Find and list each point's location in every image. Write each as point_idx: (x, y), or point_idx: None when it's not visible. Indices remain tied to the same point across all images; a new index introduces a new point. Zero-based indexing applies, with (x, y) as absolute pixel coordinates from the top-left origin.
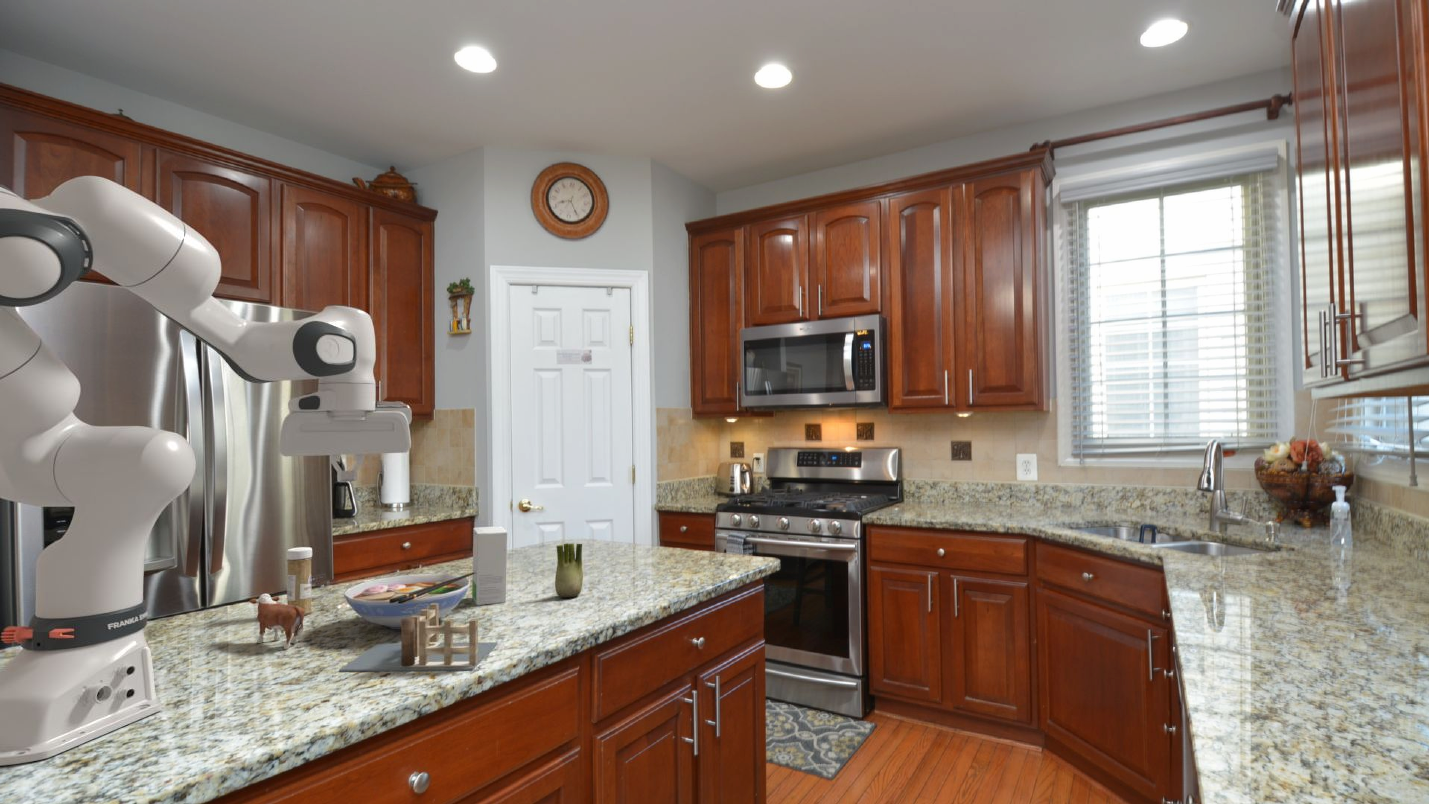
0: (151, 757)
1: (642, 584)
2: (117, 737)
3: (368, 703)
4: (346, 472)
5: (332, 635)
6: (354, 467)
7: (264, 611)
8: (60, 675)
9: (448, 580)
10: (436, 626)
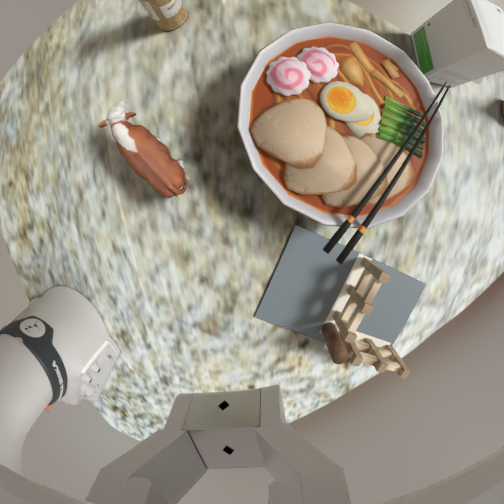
0: (157, 424)
1: None
2: (118, 386)
3: (287, 403)
4: (229, 463)
5: (228, 142)
6: (273, 470)
7: (126, 158)
8: (65, 401)
9: (416, 127)
10: (368, 360)
